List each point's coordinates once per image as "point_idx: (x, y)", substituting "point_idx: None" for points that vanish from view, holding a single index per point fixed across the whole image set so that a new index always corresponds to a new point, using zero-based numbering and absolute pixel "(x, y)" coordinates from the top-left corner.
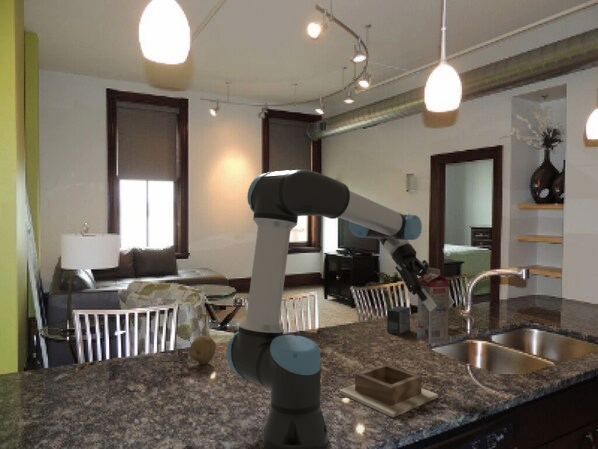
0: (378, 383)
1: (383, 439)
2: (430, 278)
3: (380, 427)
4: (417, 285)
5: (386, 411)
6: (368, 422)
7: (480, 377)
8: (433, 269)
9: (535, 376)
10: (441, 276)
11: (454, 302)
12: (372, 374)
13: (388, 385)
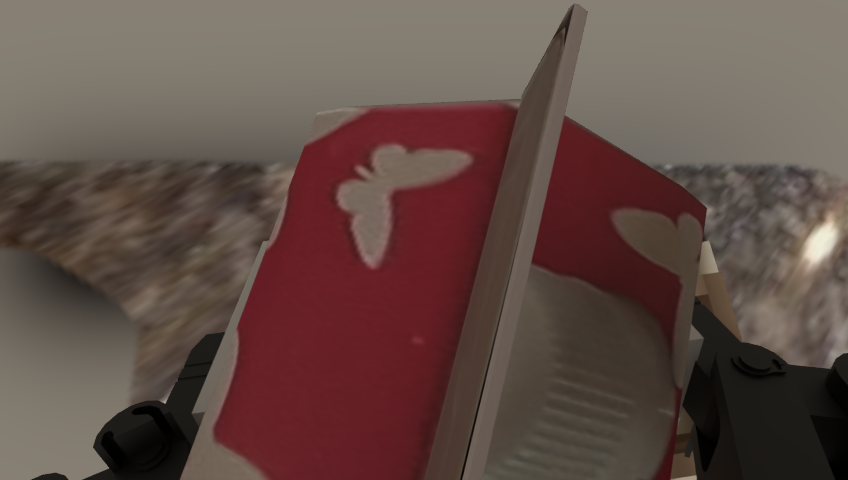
0: (737, 332)
1: (791, 171)
2: (651, 266)
3: (766, 220)
4: (800, 394)
5: (714, 266)
6: (782, 257)
7: (214, 315)
8: (508, 349)
9: (48, 220)
10: (426, 156)
11: (265, 244)
12: (681, 448)
13: (718, 293)
